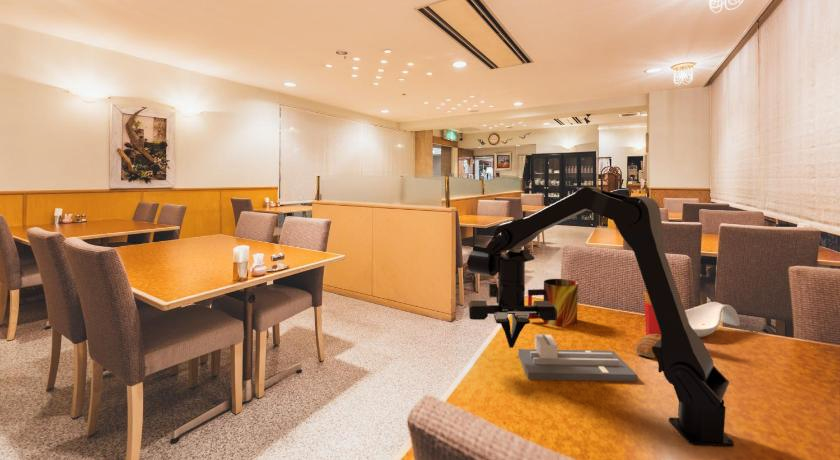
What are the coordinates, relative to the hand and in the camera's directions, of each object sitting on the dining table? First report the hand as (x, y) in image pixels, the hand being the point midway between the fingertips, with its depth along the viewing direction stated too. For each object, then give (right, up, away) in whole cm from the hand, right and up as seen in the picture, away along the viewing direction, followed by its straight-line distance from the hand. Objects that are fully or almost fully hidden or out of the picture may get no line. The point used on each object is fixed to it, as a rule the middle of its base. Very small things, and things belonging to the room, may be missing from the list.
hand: (510, 347), depth 87 cm
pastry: (+36, -4, +7) cm, 37 cm away
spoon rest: (+59, -2, +21) cm, 63 cm away
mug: (+20, -2, +29) cm, 35 cm away
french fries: (+42, -3, +13) cm, 44 cm away
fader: (+8, -3, 0) cm, 8 cm away
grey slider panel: (+14, -4, -1) cm, 14 cm away
